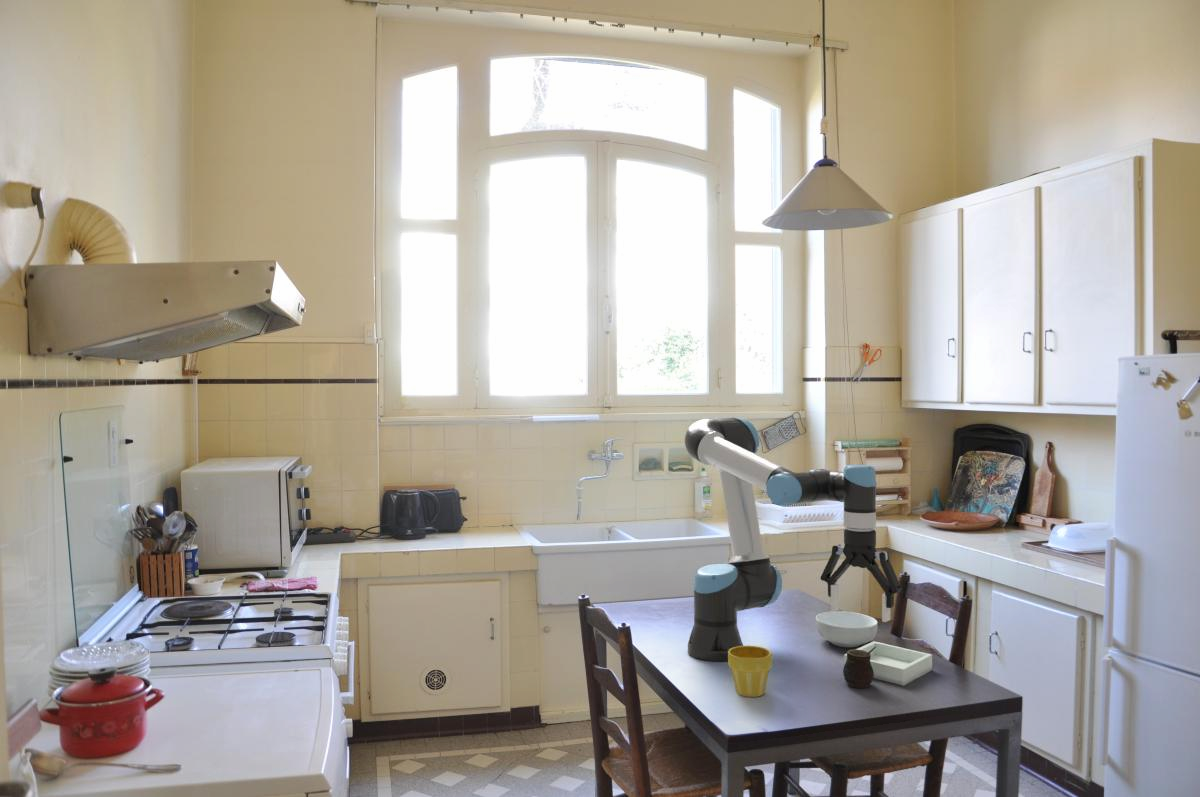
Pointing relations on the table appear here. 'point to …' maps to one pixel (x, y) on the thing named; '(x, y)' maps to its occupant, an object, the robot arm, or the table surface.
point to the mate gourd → (858, 668)
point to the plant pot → (750, 669)
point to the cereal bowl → (846, 628)
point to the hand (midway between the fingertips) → (860, 615)
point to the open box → (896, 663)
